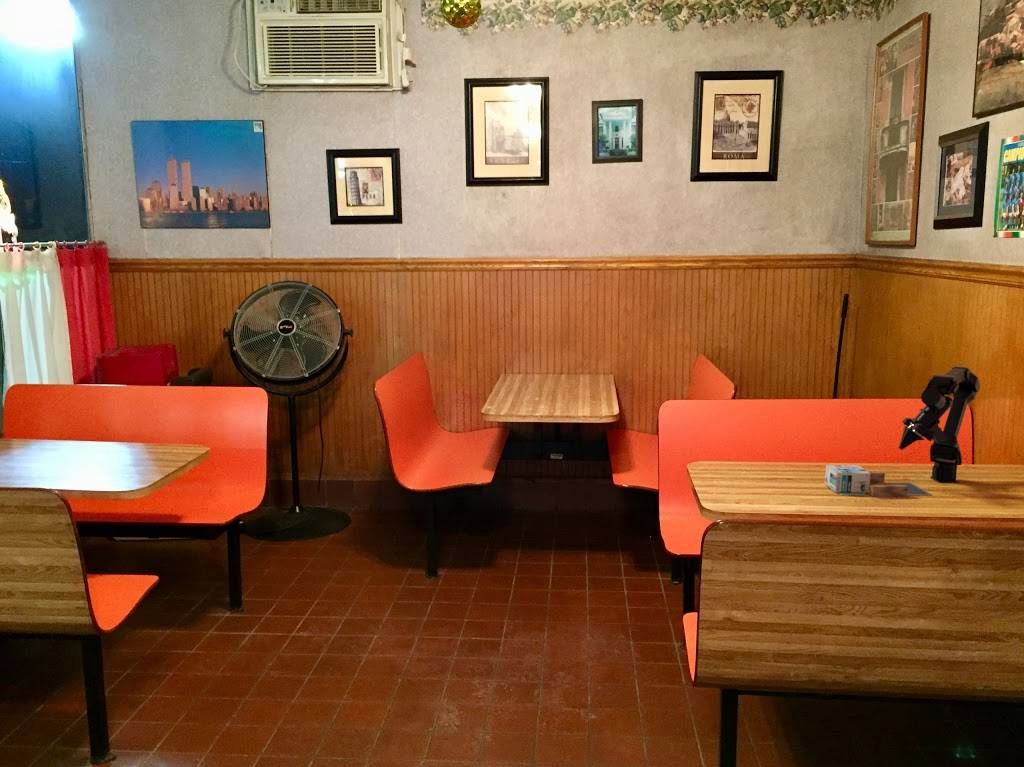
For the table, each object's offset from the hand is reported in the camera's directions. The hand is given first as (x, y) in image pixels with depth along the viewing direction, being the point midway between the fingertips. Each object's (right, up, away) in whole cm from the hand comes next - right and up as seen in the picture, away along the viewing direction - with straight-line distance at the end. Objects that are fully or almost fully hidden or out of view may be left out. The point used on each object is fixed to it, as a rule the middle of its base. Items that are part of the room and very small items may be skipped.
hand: (900, 449), depth 276 cm
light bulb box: (-12, -10, -2) cm, 16 cm away
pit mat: (+2, -13, -1) cm, 13 cm away
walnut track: (-8, -13, -1) cm, 15 cm away
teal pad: (-19, -13, -2) cm, 23 cm away
